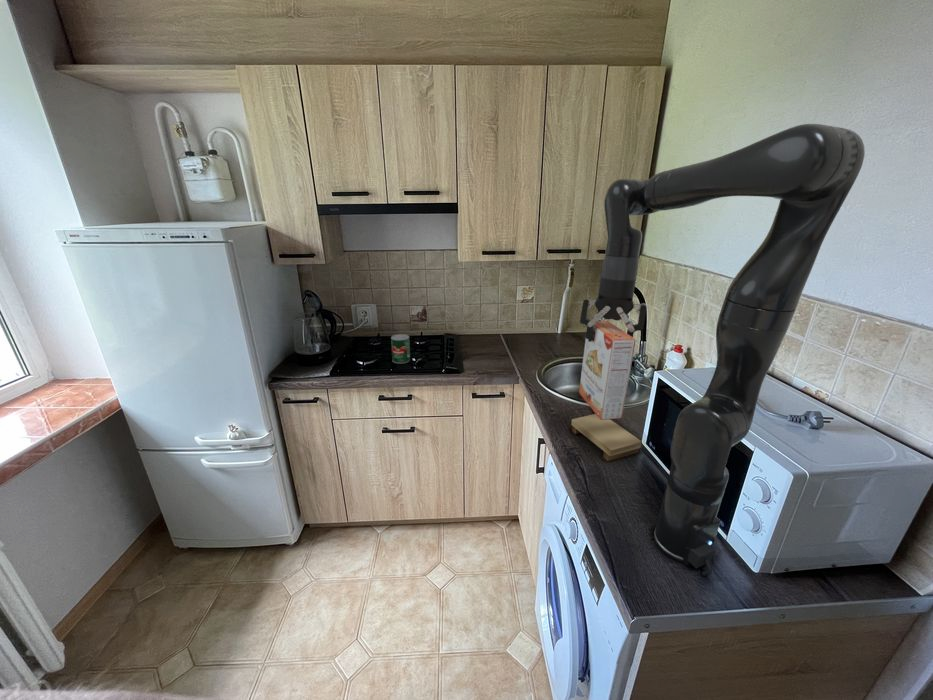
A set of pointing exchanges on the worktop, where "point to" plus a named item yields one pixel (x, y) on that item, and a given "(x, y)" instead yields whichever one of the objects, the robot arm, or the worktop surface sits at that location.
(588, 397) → the cracker box
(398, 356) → the canned tomato
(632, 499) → the worktop surface
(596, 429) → the tan wooden slab
